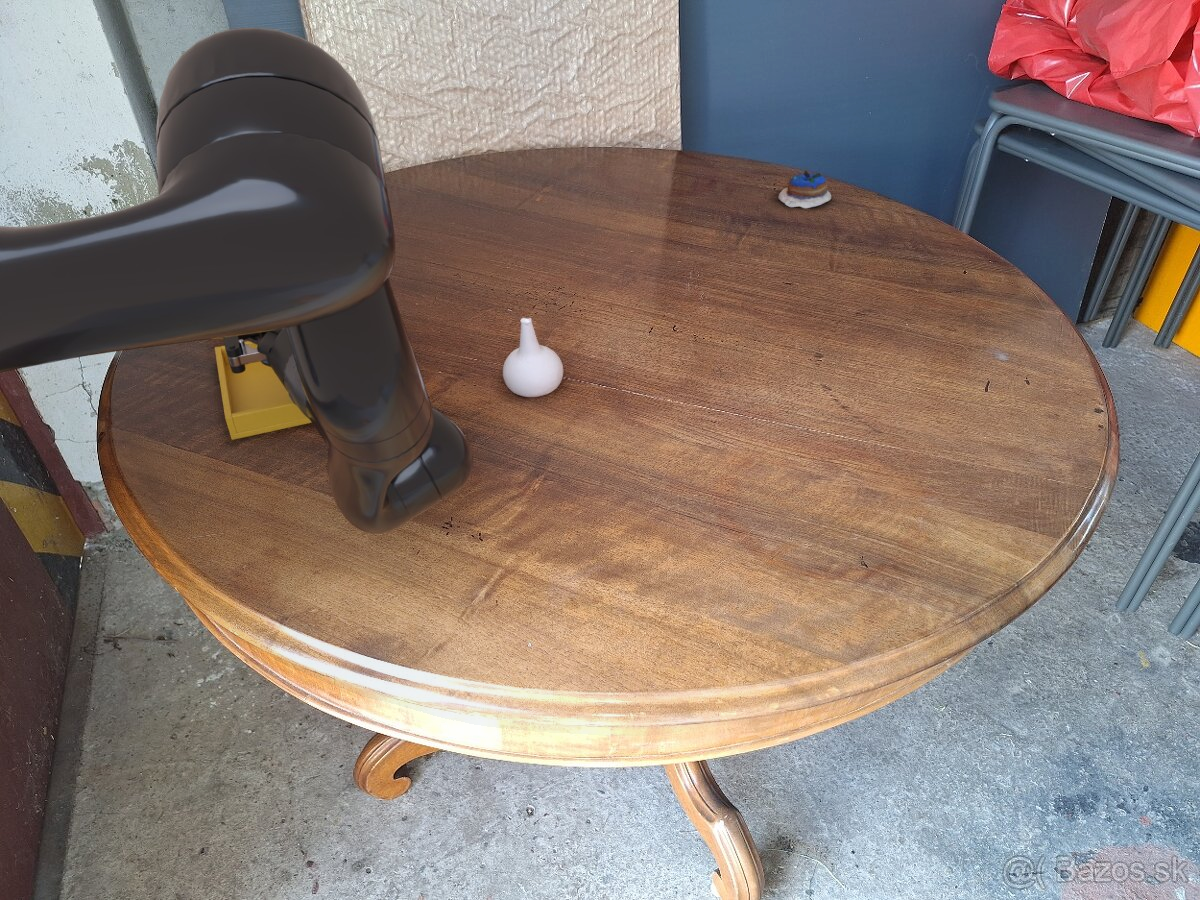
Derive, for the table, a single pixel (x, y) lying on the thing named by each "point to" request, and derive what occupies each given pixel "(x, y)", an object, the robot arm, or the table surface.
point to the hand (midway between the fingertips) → (272, 300)
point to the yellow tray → (255, 399)
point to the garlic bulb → (532, 366)
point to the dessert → (805, 191)
